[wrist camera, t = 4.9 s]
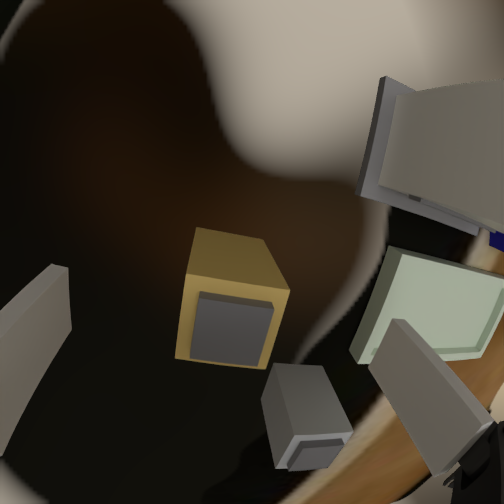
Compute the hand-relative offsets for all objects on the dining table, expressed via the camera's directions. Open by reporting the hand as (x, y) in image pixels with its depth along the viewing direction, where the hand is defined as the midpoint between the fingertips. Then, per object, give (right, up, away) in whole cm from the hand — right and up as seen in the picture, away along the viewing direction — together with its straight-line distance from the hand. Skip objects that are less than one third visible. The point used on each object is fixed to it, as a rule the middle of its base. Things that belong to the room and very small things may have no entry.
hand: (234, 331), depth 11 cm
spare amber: (-1, +2, +8) cm, 8 cm away
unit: (+14, +9, +7) cm, 18 cm away
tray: (+17, -2, +11) cm, 21 cm away
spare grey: (+4, -7, +11) cm, 14 cm away
